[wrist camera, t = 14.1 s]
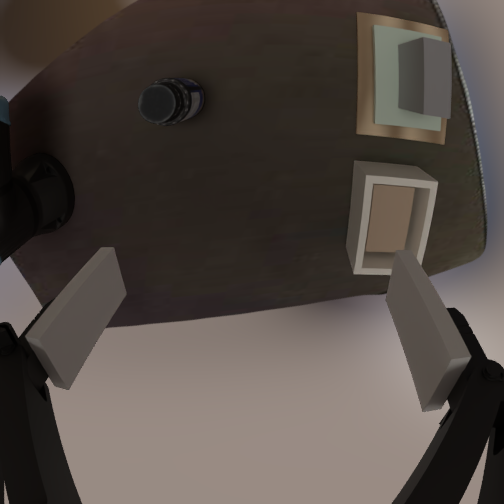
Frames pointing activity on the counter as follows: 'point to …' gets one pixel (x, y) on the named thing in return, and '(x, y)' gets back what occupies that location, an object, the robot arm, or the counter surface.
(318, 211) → the counter surface
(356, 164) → the storage box
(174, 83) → the pill bottle
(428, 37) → the green base grey block
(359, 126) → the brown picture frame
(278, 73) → the counter surface
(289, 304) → the counter surface
